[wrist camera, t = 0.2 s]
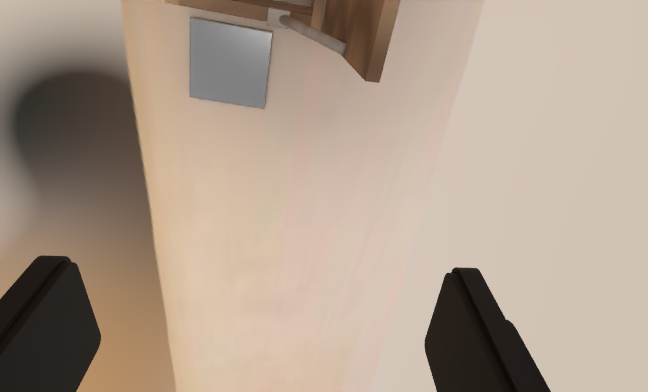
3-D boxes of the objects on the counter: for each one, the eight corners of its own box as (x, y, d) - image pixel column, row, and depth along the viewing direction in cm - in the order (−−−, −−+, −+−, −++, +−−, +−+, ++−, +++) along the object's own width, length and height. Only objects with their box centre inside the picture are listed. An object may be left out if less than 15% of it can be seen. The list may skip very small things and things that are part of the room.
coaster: (191, 16, 34) (189, 17, 34) (272, 31, 35) (272, 33, 35) (191, 95, 38) (189, 97, 37) (264, 106, 39) (263, 109, 38)
